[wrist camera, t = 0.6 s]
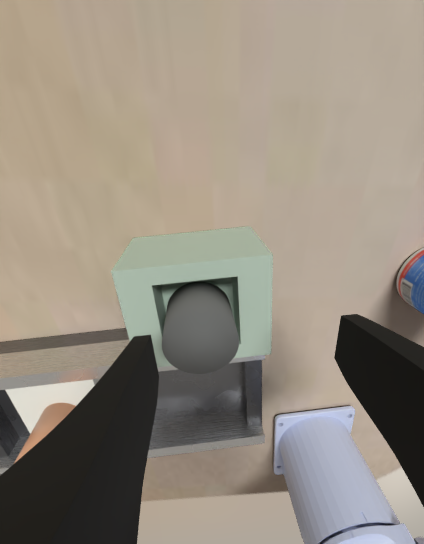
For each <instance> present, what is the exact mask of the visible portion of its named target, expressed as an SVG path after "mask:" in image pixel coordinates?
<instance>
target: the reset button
mask: <svg viewBox="0 0 424 544" xmlns="http://www.w3.org/2000/svg"><path fill="white" fill-rule="evenodd" d="M238 347H239V336H238V332H237V328H236V324H235V321H234V317H233V313H232V309H231V305H230V302H229V299H228V297H227V295H226V294H225V292H224V291H223V290H222V289H220V288H219V287H218V286H216V285H214V284H211V283H208V282H191V283H188V284H185V285H183V286H181V287H179V288H178V289H177V290H176V291H175V292H174V293H173V294H172V295H171V297H170V299H169V301H168V305H167V310H166V317H165V324H164V331H163V337H162V350H163V354H164V356H165V358H166V359H167V361H168V362H169V363H170V364H171V365H173V366H174V367H175V368H177V369H179V370H181V371H184V372H187V373H192V374H206V373H211V372H214V371H217V370H219V369H221V368H223V367H224V366H226V365H227V364H228V363H230V362H231V360H232V359H233V358H234V357H235V355H236V353H237V351H238Z"/></svg>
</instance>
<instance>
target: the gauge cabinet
mask: <svg viewBox="0 0 424 544" xmlns="http://www.w3.org/2000/svg"><path fill="white" fill-rule="evenodd" d="M272 268H273V254H272V253H271V252H270V251H269V249H268V248H267V247H266V246H265V244H264V243H263V242H262V240H261V239H260V238H259V237H258V235H257V234H256V233H255V232H254V230H253V229H252V228H251V227H250V226H247V227H237V228H227V229H217V230H207V231H197V232H187V233H177V234H167V235H157V236H147V237H138V238H133V239H132V241H131V242H130V244H129V245H128V247H127V248H126V250H125V251H124V253H123V254H122V256H121V257H120V259H119V260H118V262H117V263H116V265H115V266H114V268H113V269H112V271H111V273H112V276H113V280H114V284H115V288H116V291H117V295H118V299H119V303H120V306H121V310H122V314H123V318H124V321H125V325H126V329H127V333H128V337H129V340H130V341H131V340H132V338H133V337H134V336H143V335H151V338H152V343H153V348H154V353H155V358H156V363H157V367H164V366H173V365H171V364H170V363H169V362H168V361H167V359H166V358H165V356H164V354H163V350H162V337H163V331H164V324H165V317H166V310H167V305H168V301H169V299H170V297H171V295H172V294H173V293H174V292H175V291H176V290H177V289H178V288H179V287H181V286H183V285H185V284H188V283H191V282H208V283H211V284H214V285H216V286H218V287H219V288H220V289H222V290H223V291H224V292H225V294H226V295H227V297H228V299H229V302H230V305H231V309H232V313H233V317H234V321H235V324H236V328H237V332H238V336H239V347H238V351H237V353H236V355H235V357H234V358H241V357H250V356H258V355H267V354H271V332H272Z"/></svg>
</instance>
